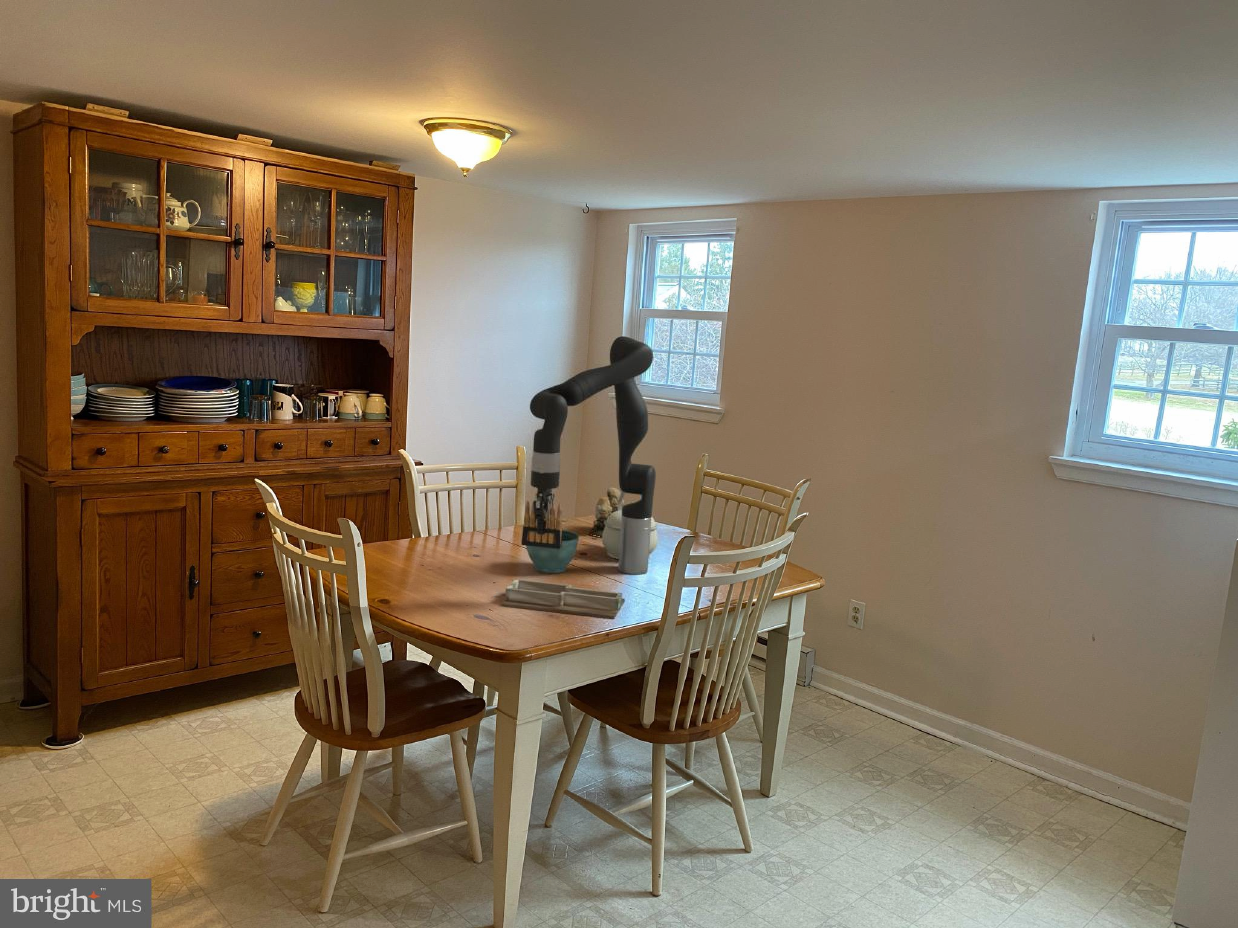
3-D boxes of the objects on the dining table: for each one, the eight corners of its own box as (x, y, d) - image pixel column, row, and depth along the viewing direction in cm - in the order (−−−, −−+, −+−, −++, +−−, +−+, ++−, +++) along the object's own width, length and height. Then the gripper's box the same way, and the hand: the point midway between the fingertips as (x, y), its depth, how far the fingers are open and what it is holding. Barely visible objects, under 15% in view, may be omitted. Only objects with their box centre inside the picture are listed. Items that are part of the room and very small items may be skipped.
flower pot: (569, 579, 270) (571, 543, 268) (516, 573, 273) (518, 537, 272) (582, 566, 286) (584, 532, 284) (532, 560, 289) (534, 526, 287)
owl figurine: (602, 526, 344) (605, 482, 342) (631, 531, 340) (635, 486, 338) (582, 535, 328) (585, 488, 325) (613, 540, 323) (616, 492, 321)
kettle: (667, 563, 296) (673, 487, 292) (614, 565, 289) (620, 487, 285) (637, 544, 319) (642, 474, 315) (588, 546, 312) (592, 474, 308)
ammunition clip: (521, 544, 245) (523, 500, 243) (523, 543, 247) (525, 499, 245) (560, 549, 244) (562, 504, 242) (561, 547, 245) (564, 503, 244)
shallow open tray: (518, 589, 256) (519, 576, 256) (624, 601, 252) (625, 588, 251) (501, 605, 241) (502, 591, 240) (614, 618, 236) (615, 604, 235)
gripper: (538, 464, 250) (535, 526, 252) (524, 471, 236) (521, 537, 239) (565, 466, 248) (561, 529, 251) (553, 474, 235) (549, 540, 237)
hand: (542, 532), depth 245 cm, fingers closed on ammunition clip, 2 cm apart
